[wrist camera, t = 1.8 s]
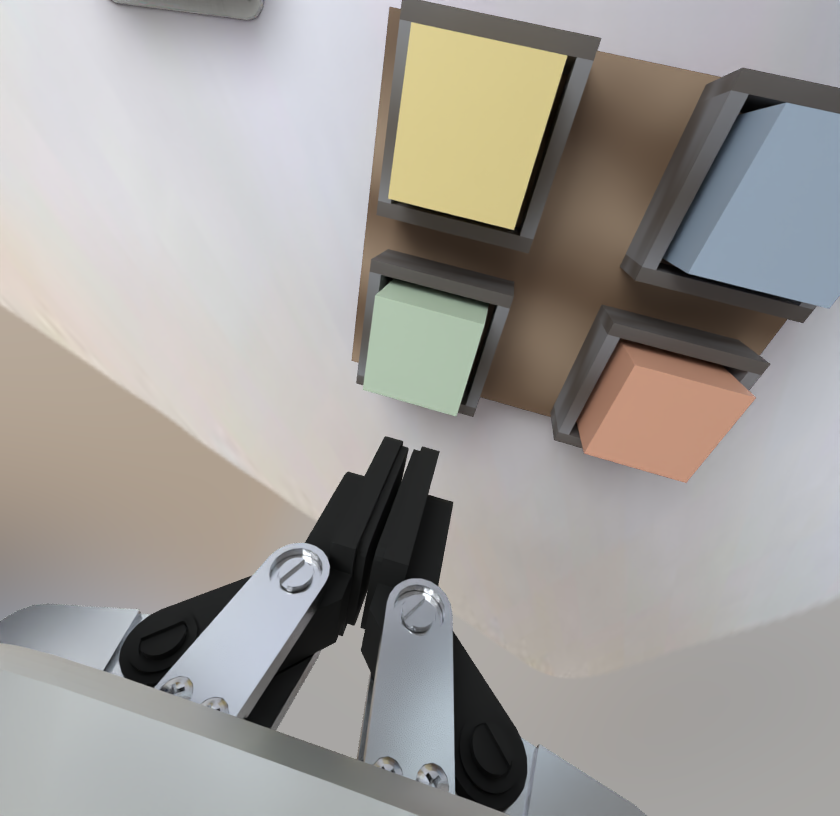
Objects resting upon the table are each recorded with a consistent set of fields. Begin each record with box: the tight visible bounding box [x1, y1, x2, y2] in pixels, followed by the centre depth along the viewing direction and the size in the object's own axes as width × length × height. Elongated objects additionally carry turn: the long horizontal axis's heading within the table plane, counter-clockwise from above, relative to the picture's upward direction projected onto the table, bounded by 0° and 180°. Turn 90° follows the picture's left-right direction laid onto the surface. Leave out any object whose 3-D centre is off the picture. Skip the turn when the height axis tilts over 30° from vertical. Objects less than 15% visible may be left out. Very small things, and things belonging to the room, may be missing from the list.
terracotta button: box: [576, 338, 756, 483], centre depth 19 cm, size 5×5×3 cm
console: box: [352, 0, 840, 448], centre depth 20 cm, size 17×22×5 cm
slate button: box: [663, 103, 840, 309], centre depth 14 cm, size 5×5×3 cm
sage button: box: [363, 278, 489, 416], centre depth 20 cm, size 5×5×3 cm
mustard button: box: [388, 22, 567, 230], centre depth 15 cm, size 5×5×3 cm
